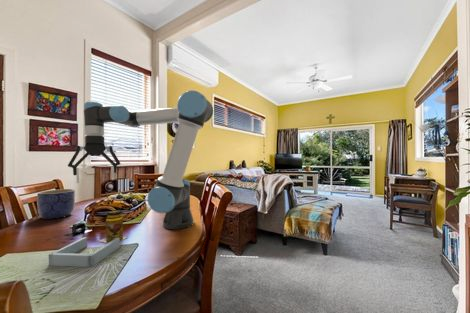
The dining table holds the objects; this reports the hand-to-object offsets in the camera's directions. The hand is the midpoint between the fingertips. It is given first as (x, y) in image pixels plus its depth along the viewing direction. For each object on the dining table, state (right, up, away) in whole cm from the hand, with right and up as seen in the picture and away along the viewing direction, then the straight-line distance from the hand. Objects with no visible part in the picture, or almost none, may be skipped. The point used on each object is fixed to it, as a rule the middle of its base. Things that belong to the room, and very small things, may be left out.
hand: (96, 181), depth 96 cm
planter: (-39, -24, +24) cm, 52 cm away
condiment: (+14, -24, -10) cm, 29 cm away
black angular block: (-7, -24, -1) cm, 25 cm away
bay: (+13, -23, -24) cm, 36 cm away
